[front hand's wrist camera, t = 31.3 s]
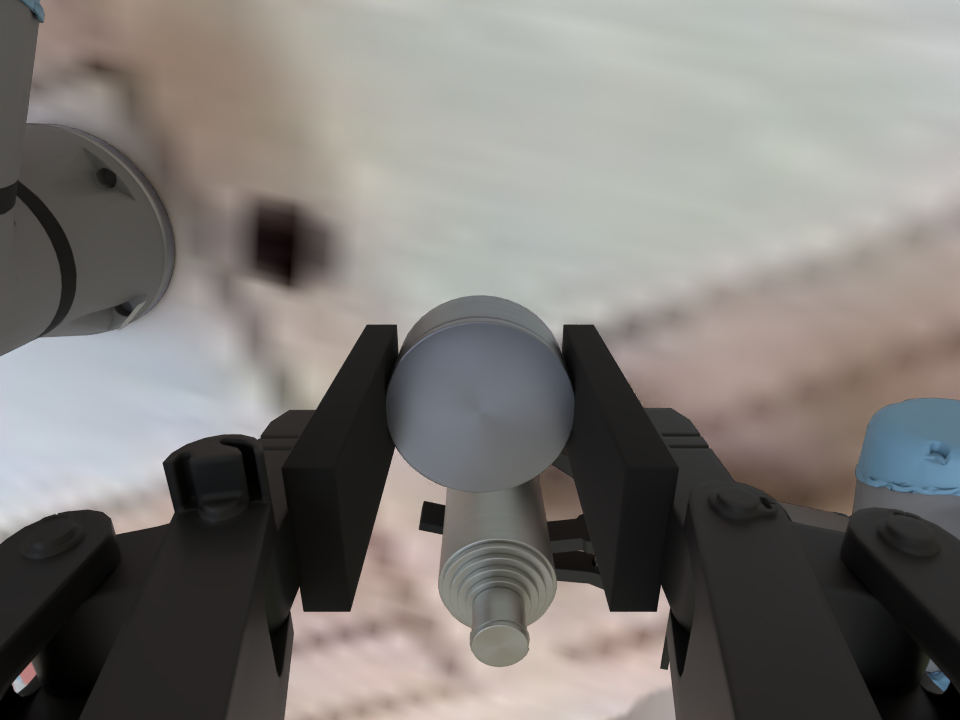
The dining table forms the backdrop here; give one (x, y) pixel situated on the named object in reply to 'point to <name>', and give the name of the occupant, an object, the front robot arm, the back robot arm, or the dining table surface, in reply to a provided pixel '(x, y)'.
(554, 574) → the bottle
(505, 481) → the cap
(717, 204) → the dining table surface
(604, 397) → the front robot arm
